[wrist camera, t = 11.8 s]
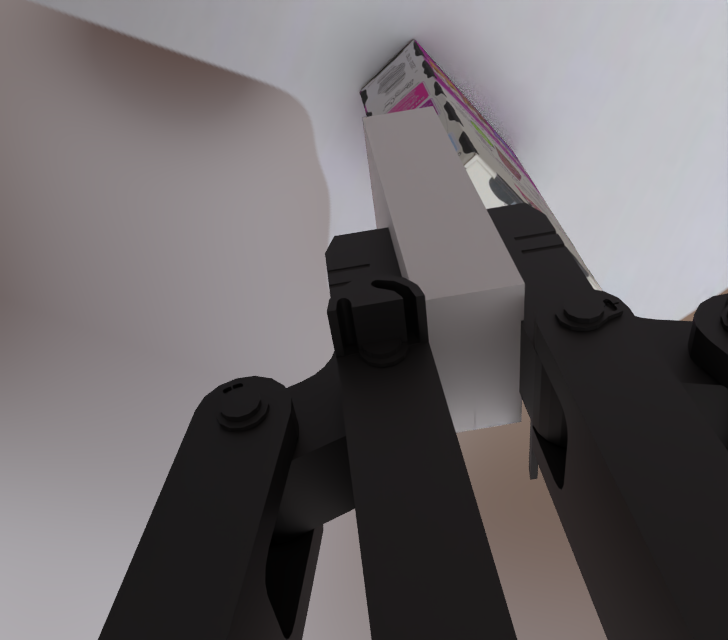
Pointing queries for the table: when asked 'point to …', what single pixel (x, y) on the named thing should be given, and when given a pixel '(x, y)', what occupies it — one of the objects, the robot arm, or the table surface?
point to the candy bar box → (460, 133)
